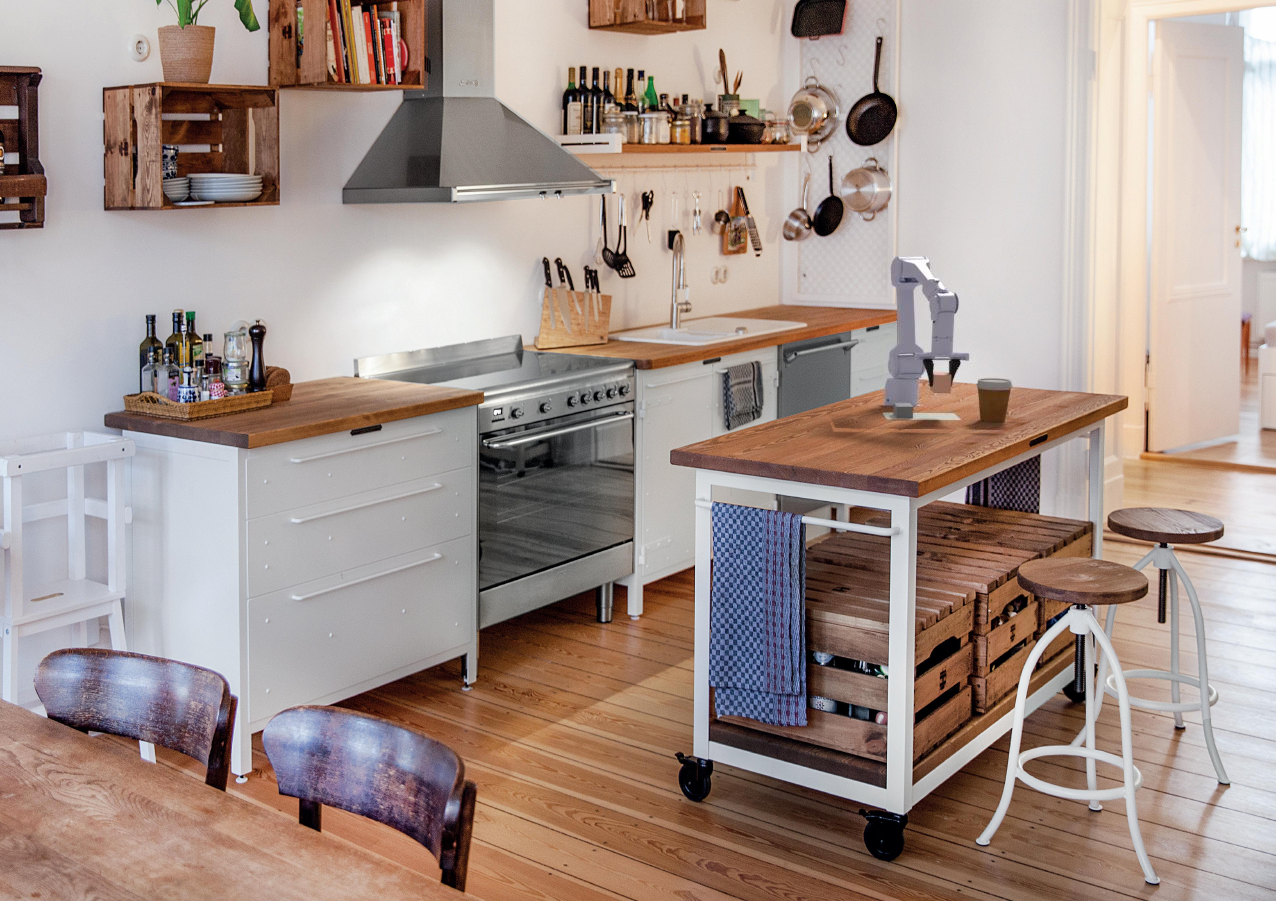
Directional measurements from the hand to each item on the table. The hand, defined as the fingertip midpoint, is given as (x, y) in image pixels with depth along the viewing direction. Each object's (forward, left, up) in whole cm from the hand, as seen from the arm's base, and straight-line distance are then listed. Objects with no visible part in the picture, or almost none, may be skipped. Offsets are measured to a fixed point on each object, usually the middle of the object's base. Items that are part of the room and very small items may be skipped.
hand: (940, 386), depth 346 cm
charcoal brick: (-7, -7, -8) cm, 13 cm away
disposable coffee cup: (+14, +5, -10) cm, 18 cm away
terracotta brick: (0, 0, -1) cm, 1 cm away
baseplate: (-3, -4, -9) cm, 11 cm away
